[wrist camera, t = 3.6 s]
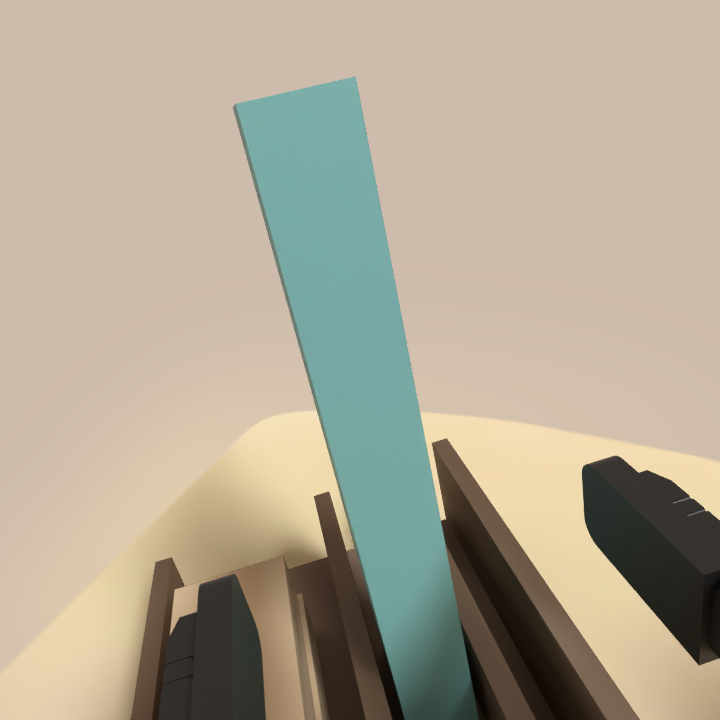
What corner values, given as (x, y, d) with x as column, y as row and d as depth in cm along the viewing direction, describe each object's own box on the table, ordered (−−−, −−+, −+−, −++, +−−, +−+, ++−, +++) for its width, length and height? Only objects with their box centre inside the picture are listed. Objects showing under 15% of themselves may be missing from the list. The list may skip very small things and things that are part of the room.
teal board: (417, 764, 21) (235, 104, 12) (383, 649, 25) (232, 107, 16) (482, 740, 21) (355, 76, 12) (437, 630, 26) (319, 87, 16)
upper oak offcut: (182, 825, 18) (154, 778, 17) (194, 631, 25) (174, 589, 24) (324, 774, 19) (305, 725, 18) (298, 598, 26) (283, 555, 25)
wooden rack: (132, 1197, 15) (15, 1103, 12) (181, 626, 31) (136, 532, 28) (708, 952, 16) (720, 822, 14) (466, 534, 33) (450, 437, 30)
